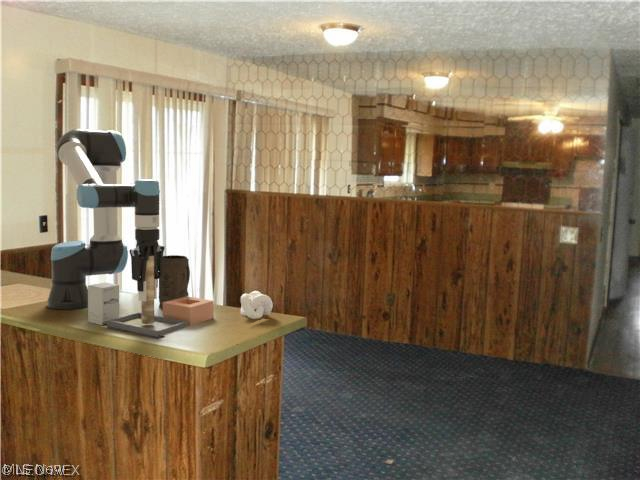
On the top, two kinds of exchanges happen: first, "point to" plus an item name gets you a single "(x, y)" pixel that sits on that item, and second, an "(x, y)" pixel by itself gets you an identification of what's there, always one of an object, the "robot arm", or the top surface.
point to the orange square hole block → (189, 309)
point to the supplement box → (103, 302)
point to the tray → (144, 331)
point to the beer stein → (174, 278)
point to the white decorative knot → (255, 305)
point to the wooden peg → (149, 293)
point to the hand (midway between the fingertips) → (147, 299)
